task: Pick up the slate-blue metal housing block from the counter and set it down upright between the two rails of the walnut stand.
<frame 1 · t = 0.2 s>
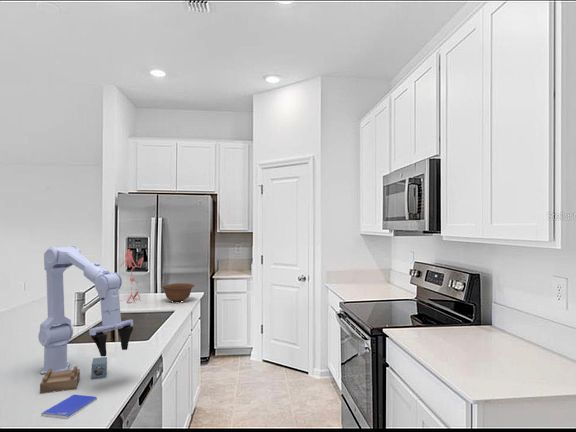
hand: (114, 352, 135), 10 cm above the worktop, tool pointing down, fingers open, 7 cm apart
hard drive: (70, 410, 118), on the worktop
housing: (99, 375, 144), on the worktop
stand: (60, 385, 134), on the worktop
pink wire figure: (128, 301, 276), on the worktop
bowl: (177, 302, 276), on the worktop
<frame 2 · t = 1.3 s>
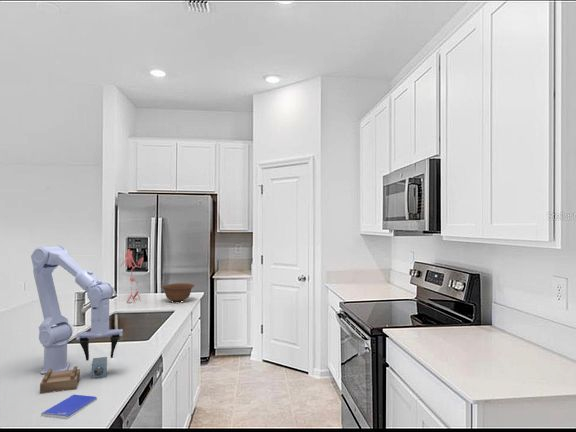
hand: (99, 358, 144), 6 cm above the worktop, tool pointing down, fingers open, 7 cm apart
nothing on the worktop moved.
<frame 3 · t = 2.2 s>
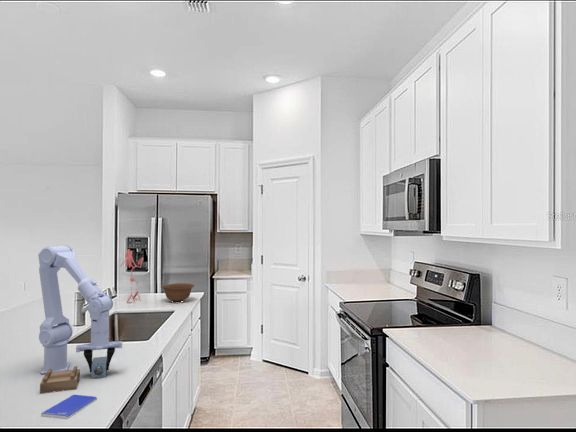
hand: (99, 370, 144), 1 cm above the worktop, tool pointing down, fingers closed on housing, 4 cm apart
housing: (99, 374, 144), on the worktop, touching gripper
everything else where it was.
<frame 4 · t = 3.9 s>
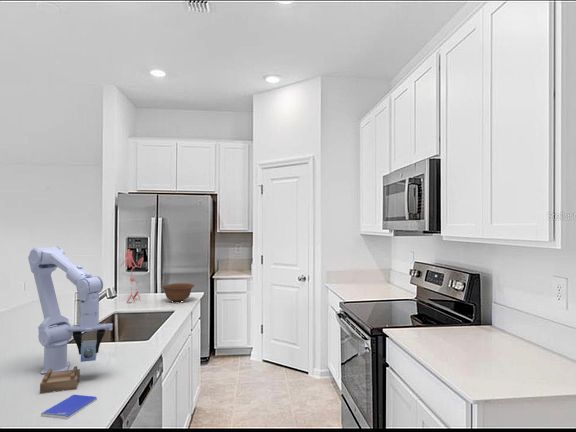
hand: (88, 352, 141), 8 cm above the worktop, tool pointing down, fingers closed on housing, 4 cm apart
housing: (88, 357, 141), point 7 cm above the worktop, touching gripper
everything else where it was.
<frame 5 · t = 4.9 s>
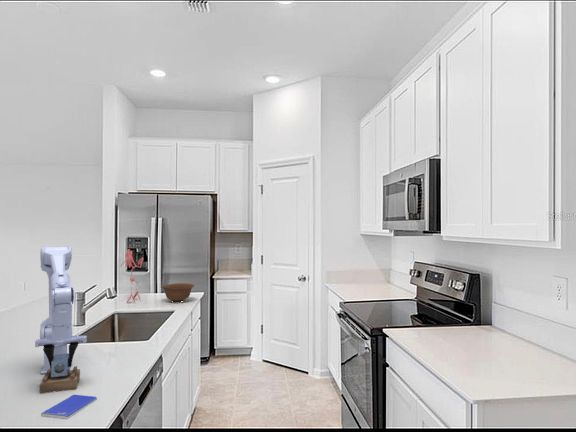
hand: (61, 366, 134), 6 cm above the worktop, tool pointing down, fingers closed on housing, 4 cm apart
housing: (61, 372, 134), point 4 cm above the worktop, touching gripper
everything else where it was.
when the fingers open (6 cm above the worktop, at t = 5.7 s): housing stays where it is, resting on stand.
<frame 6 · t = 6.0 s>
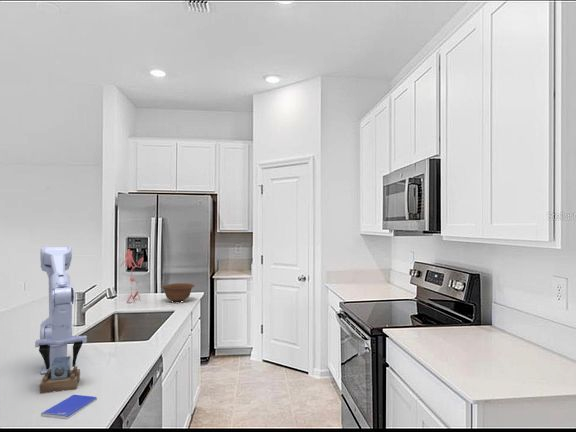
hand: (61, 366, 134), 6 cm above the worktop, tool pointing down, fingers open, 7 cm apart
housing: (61, 375, 134), point 3 cm above the worktop, touching stand
everything else where it was.
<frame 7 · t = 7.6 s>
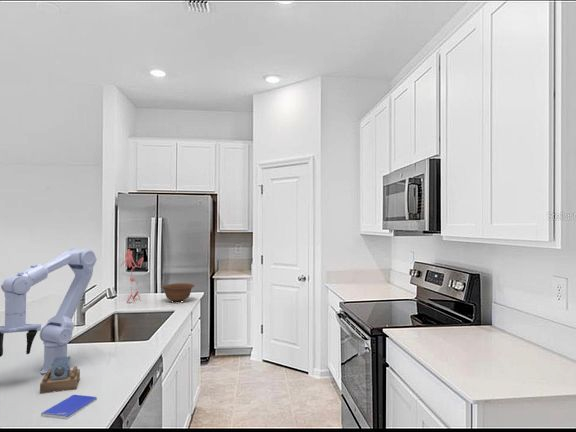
hand: (14, 354, 135), 9 cm above the worktop, tool pointing down, fingers open, 7 cm apart
nothing on the worktop moved.
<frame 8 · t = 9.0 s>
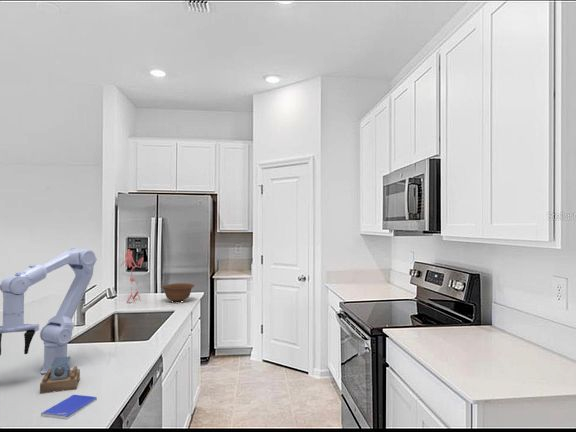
hand: (12, 354, 135), 9 cm above the worktop, tool pointing down, fingers open, 7 cm apart
nothing on the worktop moved.
at the end: housing 0.2 cm off-centre on the stand, point 3.0 cm above the stand's base; housing tilted 0°; the gripper is holding nothing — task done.
